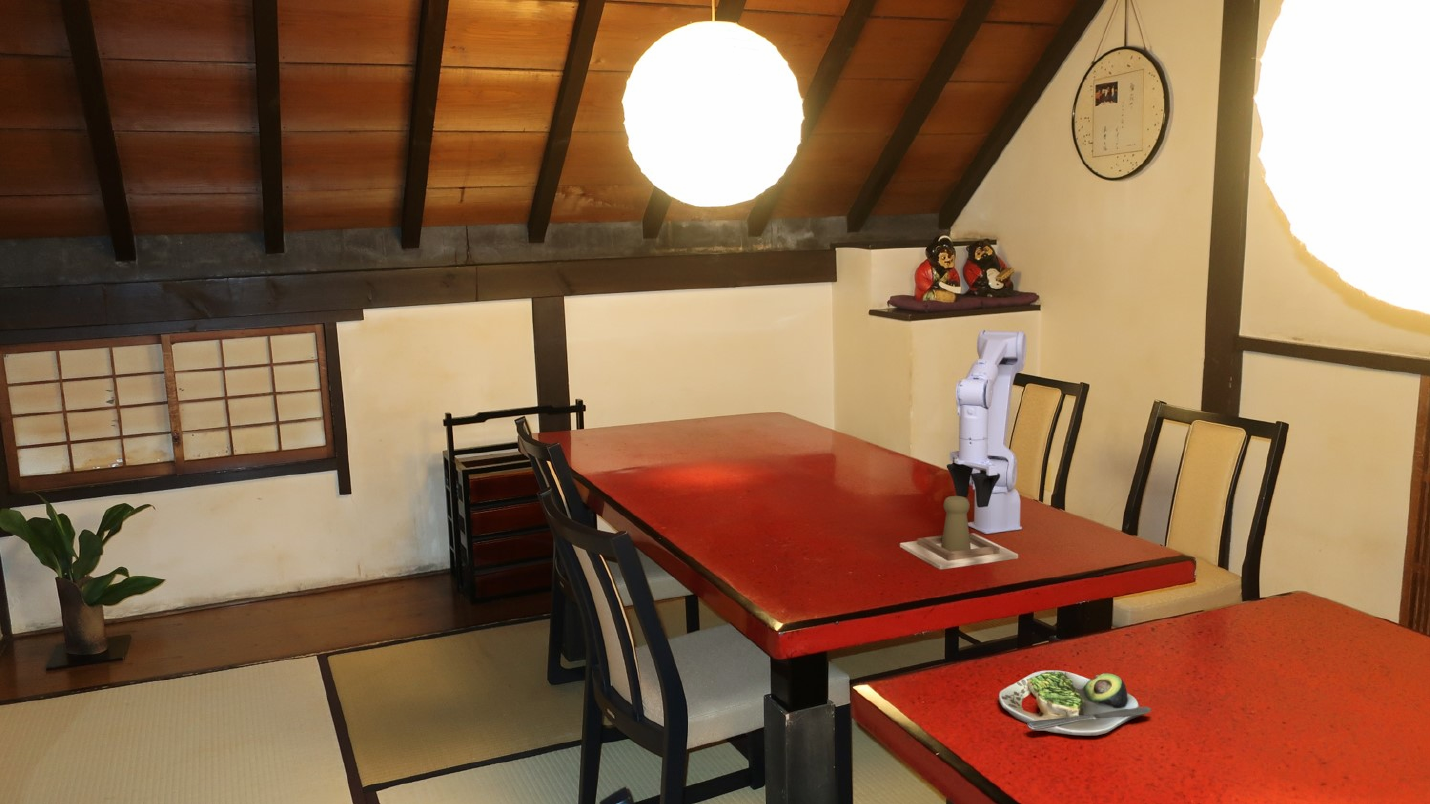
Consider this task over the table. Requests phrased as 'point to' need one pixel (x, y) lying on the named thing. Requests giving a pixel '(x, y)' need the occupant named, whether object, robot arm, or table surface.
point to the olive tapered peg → (956, 524)
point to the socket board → (957, 552)
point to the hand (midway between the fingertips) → (972, 502)
